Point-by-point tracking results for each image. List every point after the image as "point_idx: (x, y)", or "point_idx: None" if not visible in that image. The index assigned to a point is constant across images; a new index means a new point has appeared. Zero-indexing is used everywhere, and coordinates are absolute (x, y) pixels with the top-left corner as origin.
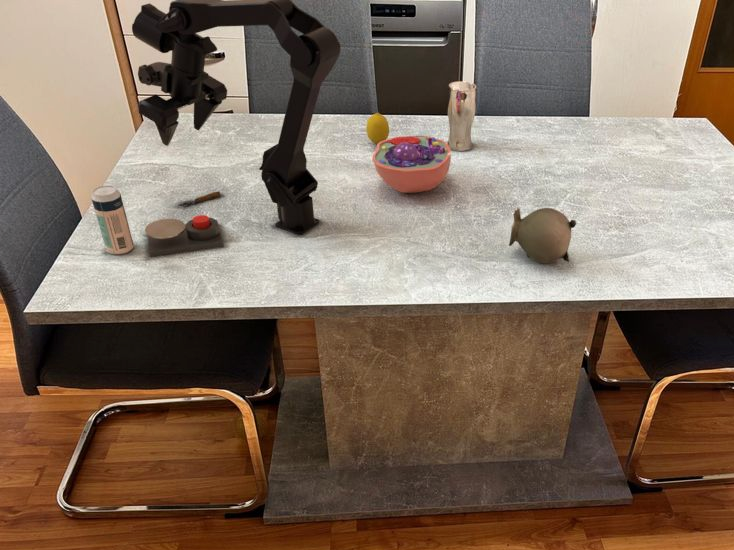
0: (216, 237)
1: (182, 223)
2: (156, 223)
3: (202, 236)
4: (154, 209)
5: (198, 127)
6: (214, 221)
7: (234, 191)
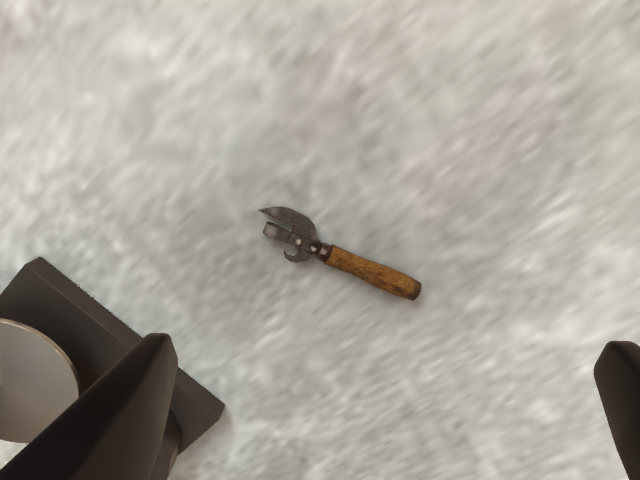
0: None
1: None
2: (5, 340)
3: None
4: (189, 139)
5: (610, 400)
6: (154, 477)
7: (475, 310)
